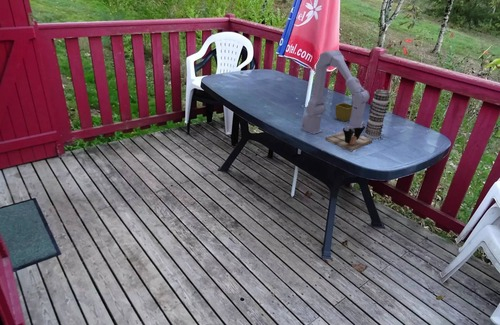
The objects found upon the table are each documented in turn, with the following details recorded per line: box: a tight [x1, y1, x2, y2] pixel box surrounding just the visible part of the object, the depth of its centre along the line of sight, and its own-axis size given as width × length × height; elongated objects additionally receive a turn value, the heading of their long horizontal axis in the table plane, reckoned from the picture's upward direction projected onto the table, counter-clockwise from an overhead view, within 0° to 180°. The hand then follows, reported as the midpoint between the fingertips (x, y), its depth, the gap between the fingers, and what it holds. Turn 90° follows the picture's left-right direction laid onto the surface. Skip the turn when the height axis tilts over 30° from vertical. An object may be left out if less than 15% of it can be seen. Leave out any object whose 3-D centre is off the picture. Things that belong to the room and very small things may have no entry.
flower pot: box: [334, 102, 353, 122], centre depth 214 cm, size 9×9×9 cm
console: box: [325, 131, 373, 152], centre depth 187 cm, size 16×19×2 cm
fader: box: [349, 135, 357, 144], centre depth 180 cm, size 3×3×4 cm
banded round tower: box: [364, 88, 391, 139], centre depth 191 cm, size 9×9×25 cm
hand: (351, 140), depth 180 cm, fingers open, 7 cm apart
